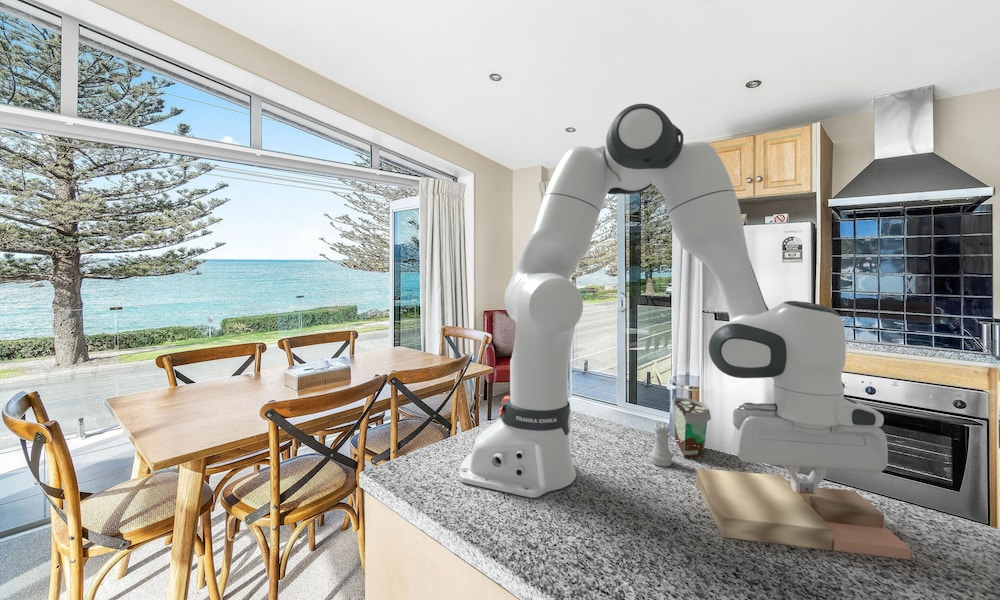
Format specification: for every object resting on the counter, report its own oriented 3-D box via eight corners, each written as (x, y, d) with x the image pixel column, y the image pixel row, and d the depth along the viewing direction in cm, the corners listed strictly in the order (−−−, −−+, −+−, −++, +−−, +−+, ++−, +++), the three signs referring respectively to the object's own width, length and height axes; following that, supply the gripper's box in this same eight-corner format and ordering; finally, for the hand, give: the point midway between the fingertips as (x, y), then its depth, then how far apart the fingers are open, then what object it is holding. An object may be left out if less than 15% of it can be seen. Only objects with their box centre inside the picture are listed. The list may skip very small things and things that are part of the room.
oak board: (722, 537, 61) (723, 517, 61) (696, 483, 77) (697, 468, 77) (832, 550, 58) (832, 529, 58) (781, 492, 74) (782, 475, 74)
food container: (717, 463, 85) (719, 415, 85) (685, 461, 87) (686, 413, 86) (701, 440, 97) (702, 398, 97) (673, 438, 99) (674, 396, 98)
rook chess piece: (675, 468, 83) (676, 429, 83) (651, 466, 84) (652, 427, 84) (669, 458, 88) (670, 421, 87) (647, 457, 88) (648, 420, 88)
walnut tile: (820, 521, 63) (821, 508, 63) (798, 497, 69) (798, 485, 69) (883, 528, 61) (884, 515, 61) (854, 502, 68) (854, 490, 68)
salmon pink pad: (833, 550, 58) (834, 540, 58) (783, 492, 74) (783, 484, 74) (910, 559, 56) (910, 549, 56) (841, 498, 72) (842, 489, 72)
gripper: (740, 407, 64) (738, 495, 65) (897, 416, 60) (892, 509, 61) (727, 396, 71) (725, 475, 71) (869, 403, 66) (865, 488, 67)
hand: (803, 491), depth 66 cm, fingers closed
